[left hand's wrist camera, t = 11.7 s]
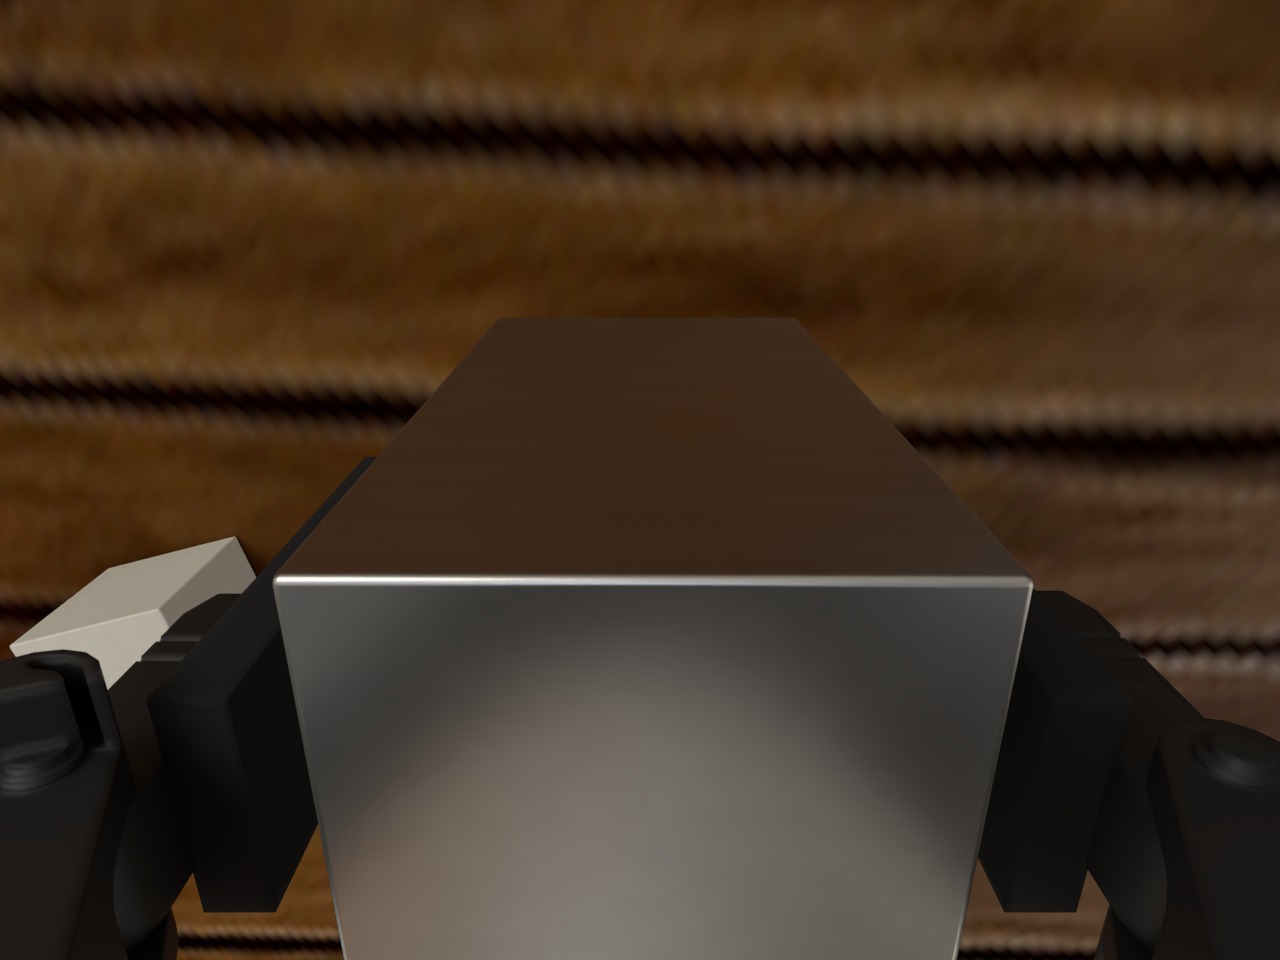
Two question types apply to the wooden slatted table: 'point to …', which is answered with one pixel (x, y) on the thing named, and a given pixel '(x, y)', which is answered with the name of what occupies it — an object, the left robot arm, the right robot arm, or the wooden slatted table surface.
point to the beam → (651, 660)
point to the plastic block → (138, 604)
